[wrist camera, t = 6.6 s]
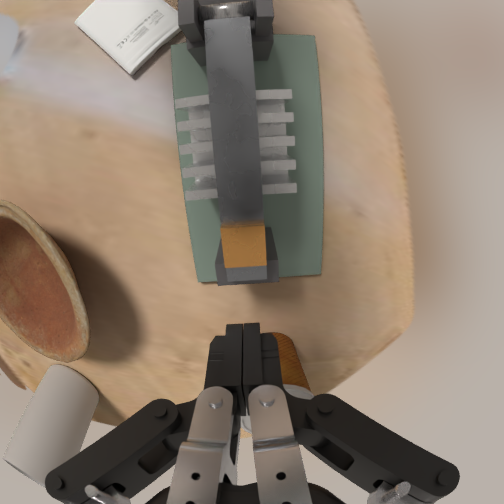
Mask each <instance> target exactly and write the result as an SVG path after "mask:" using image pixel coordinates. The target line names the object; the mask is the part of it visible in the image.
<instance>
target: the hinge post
mask: <svg viewBox="0 0 504 504" xmlns="http://www.w3.org/2000/svg"><path fill="white" fill-rule="evenodd" d="M242 1H253V6H254V20H250V27H251V39H252V51H253V61H268V59H269V55H270V52H271V49H272V46H273V42H274V38H273V28H272V22H273V18H274V12H273V3H272V0H178V26H179V28H180V29H181V30H182V32H183V33H184V35H185V36H186V42H187V50H188V51H189V53H190V54H191V55H192V56H193V58H194V59H195V60H196V62H197V63H198V64H199V65H200V66H207V65H206V49H205V30H204V25H201V24H200V21H199V15H198V7H199V6H204V5H211V4H219V3H229V2H242Z"/></svg>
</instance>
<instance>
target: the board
mask: <svg viewBox="0 0 504 504" xmlns="http://www.w3.org/2000/svg"><path fill="white" fill-rule="evenodd" d="M273 38H274V42H273V46H272V49H271V52H270V55H269V59H268V61H253V63H254V76H255V89H256V90H274V89H292V99H291V100H290V101H288V102H287V103H286V104H284V106H285V112H293V114H294V122H292V123H286V135H290V136H295V146H287V155H289V156H291V157H292V158H294V159H295V160H296V169H294V170H288V174H289V175H290V177H291V178H292V179H293V180H294V181H295V182H296V183H297V193H280V194H263V210H264V225H265V227H271V229H272V234H273V238H274V242H275V247H276V251H277V256H278V262H279V277H289V276H302V275H314V274H321V263H322V240H323V136H322V114H321V98H320V84H319V72H318V61H317V52H316V43H315V36H311V35H287V34H273ZM171 62H172V81H173V96H174V109H175V120H176V131H177V141H178V150H179V159H180V168H181V176H182V184H183V192H184V199H185V206H186V213H187V220H188V226H189V232H190V239H191V245H192V251H193V257H194V262H195V268H196V273H197V279H198V282H212V281H217V277H216V270H215V260H216V256H217V252H218V247H219V243H220V239H221V232H220V228H221V222H220V213H219V204H218V198H211V199H200V200H190V201H186V198H185V191H186V190H187V189H188V188H189V187H190V186H191V185H192V184H193V183H194V182H195V177H189V178H183V175H182V168H184V167H185V166H187V165H189V164H190V163H192V162H193V155H192V154H184V155H180V149H179V145H183V144H187V143H191V135H190V131H185V132H178V129H177V122H181V121H188V120H189V113H188V112H185V111H182V110H178V109H176V106H175V99H181V98H187V97H193V96H200V95H208V80H207V66H200V65H199V64H198V63H197V62H196V60H195V59H194V58H193V56H192V55H191V54H190V53H189V51H188V50H187V42H186V43H180V44H175V45H171Z"/></svg>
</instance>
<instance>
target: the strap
mask: <svg viewBox="0 0 504 504" xmlns="http://www.w3.org/2000/svg"><path fill="white" fill-rule="evenodd" d="M198 15H199V21H200V24H201V25H204V30H205V49H206V65H207V80H208V94H209V107H210V120H211V132H212V143H213V154H214V164H215V175H216V185H217V194H218V204H219V213H220V222H221V228H220V232H221V240H222V249H223V257H224V265H225V268H226V272H227V280H228V282H231V281H247V280H263V279H267V267H266V265H267V260H266V241H265V225H264V210H263V193H262V177H261V161H260V146H259V131H258V116H257V102H256V89H255V76H254V63H253V51H252V39H251V27H250V20H254V6H253V1H242V2H229V3H219V4H211V5H204V6H199V7H198Z"/></svg>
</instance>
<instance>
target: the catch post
mask: <svg viewBox="0 0 504 504" xmlns="http://www.w3.org/2000/svg"><path fill="white" fill-rule="evenodd" d="M265 241H266V260H267V265H266V267H267V279H263V280H247V281H231V282H228V280H227V272H226V268H225V265H224V257H223V249H222V240H221V239H220V243H219V247H218V252H217V256H216V260H215V270H216V277H217V284H218V286H222V285H239V284H254V283H269V282H279V262H278V256H277V251H276V247H275V242H274V238H273V234H272V229H271V227H265Z"/></svg>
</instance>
